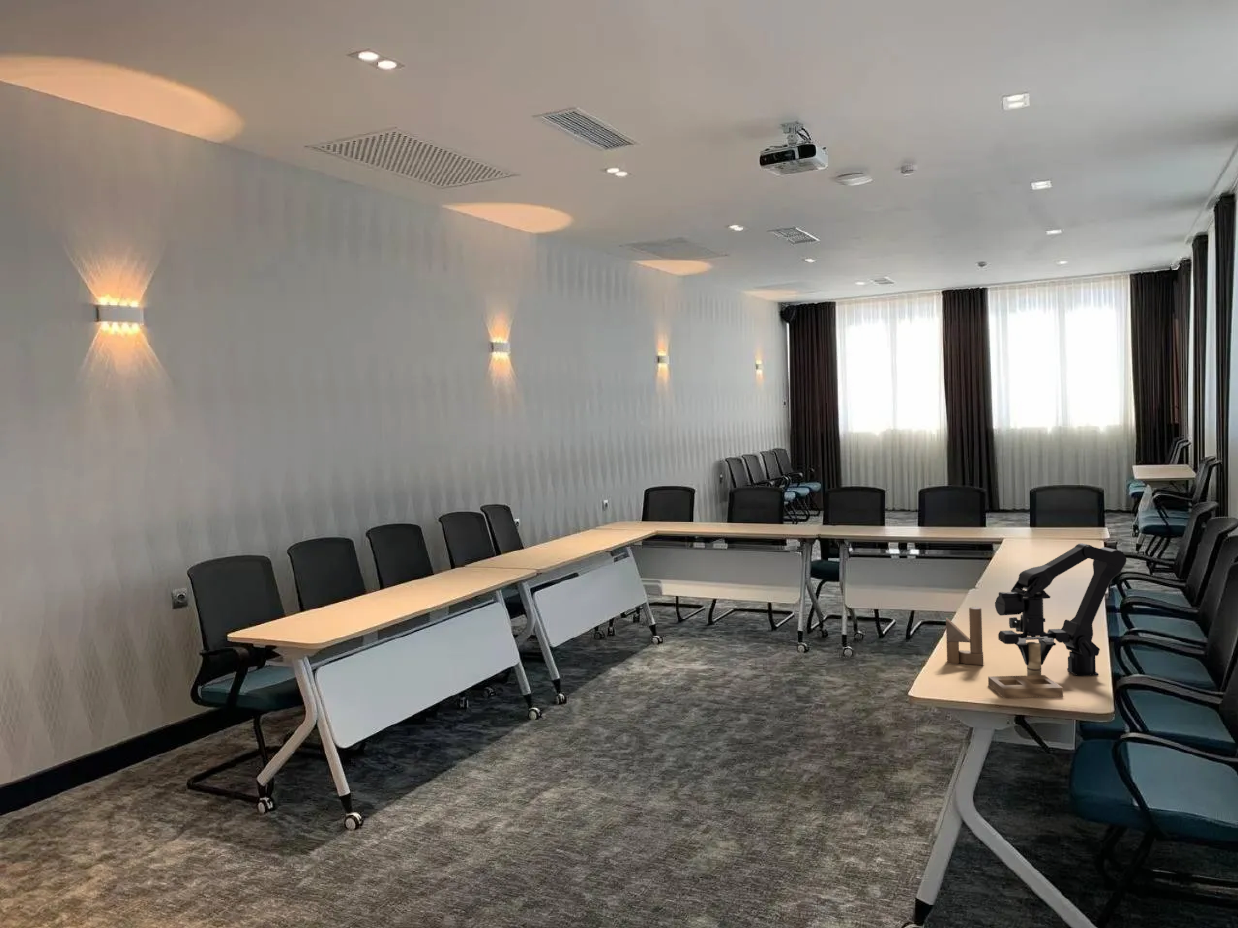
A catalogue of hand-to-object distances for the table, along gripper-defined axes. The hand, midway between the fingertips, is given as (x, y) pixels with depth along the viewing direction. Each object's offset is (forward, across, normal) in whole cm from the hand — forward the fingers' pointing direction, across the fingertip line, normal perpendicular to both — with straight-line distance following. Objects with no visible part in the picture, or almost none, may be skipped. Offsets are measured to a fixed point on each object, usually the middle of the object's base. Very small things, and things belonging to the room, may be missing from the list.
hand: (1034, 664), depth 260 cm
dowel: (+4, 0, 0) cm, 4 cm away
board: (+4, +8, +13) cm, 16 cm away
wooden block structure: (+4, +15, -16) cm, 22 cm away
